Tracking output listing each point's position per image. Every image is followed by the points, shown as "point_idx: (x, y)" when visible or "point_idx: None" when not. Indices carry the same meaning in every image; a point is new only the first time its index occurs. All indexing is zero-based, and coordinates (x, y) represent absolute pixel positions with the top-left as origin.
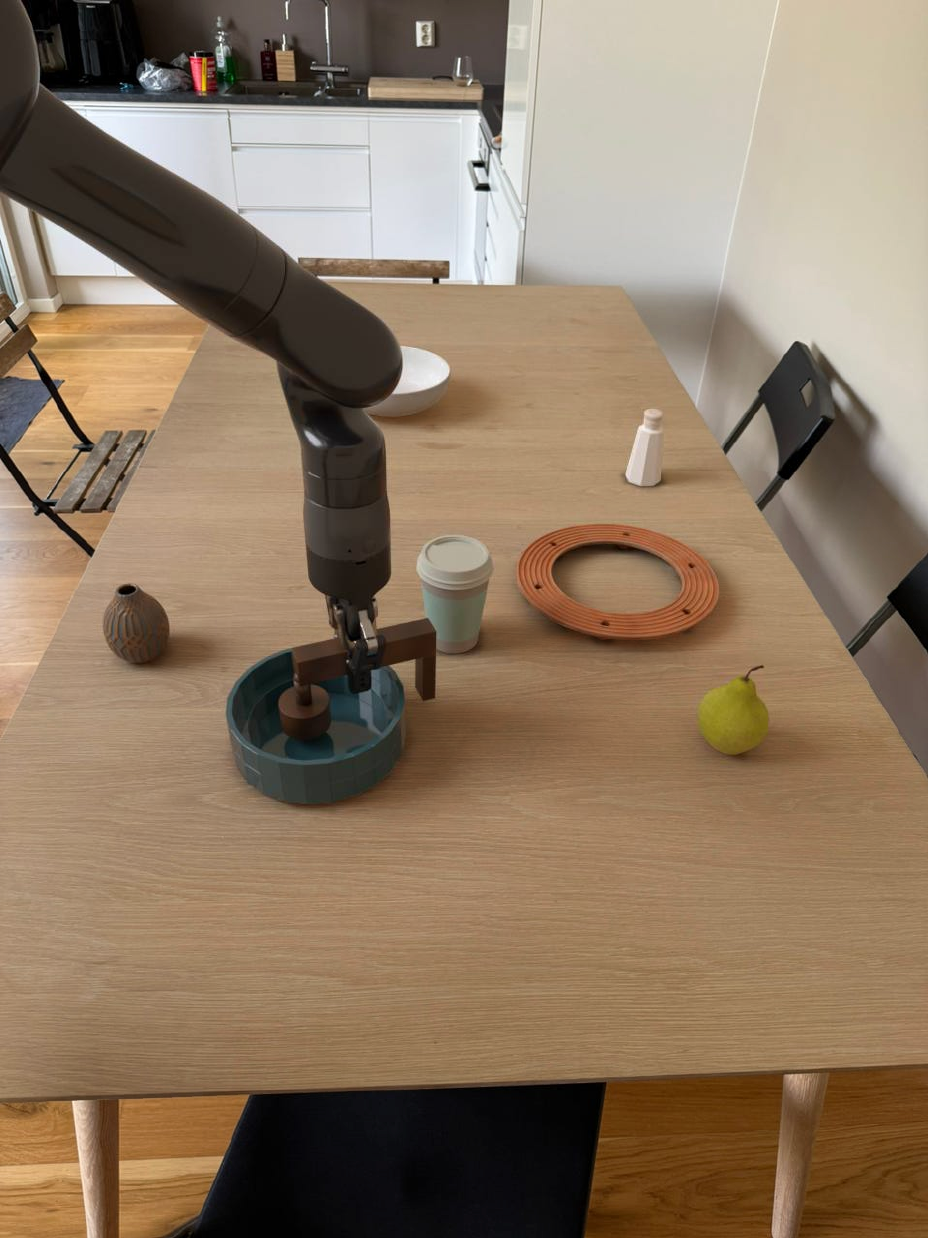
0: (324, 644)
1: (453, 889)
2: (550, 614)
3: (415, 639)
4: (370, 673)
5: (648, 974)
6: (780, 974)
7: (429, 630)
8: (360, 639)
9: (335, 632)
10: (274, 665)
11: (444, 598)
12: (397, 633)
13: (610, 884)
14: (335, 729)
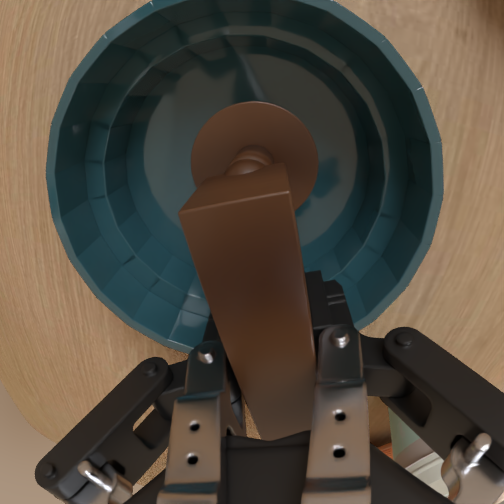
0: (283, 319)
1: (33, 296)
2: (381, 450)
3: None
4: None
5: (21, 376)
6: (45, 418)
7: None
8: (56, 493)
9: (348, 349)
10: (407, 107)
11: (411, 444)
12: None
13: (68, 390)
14: None
